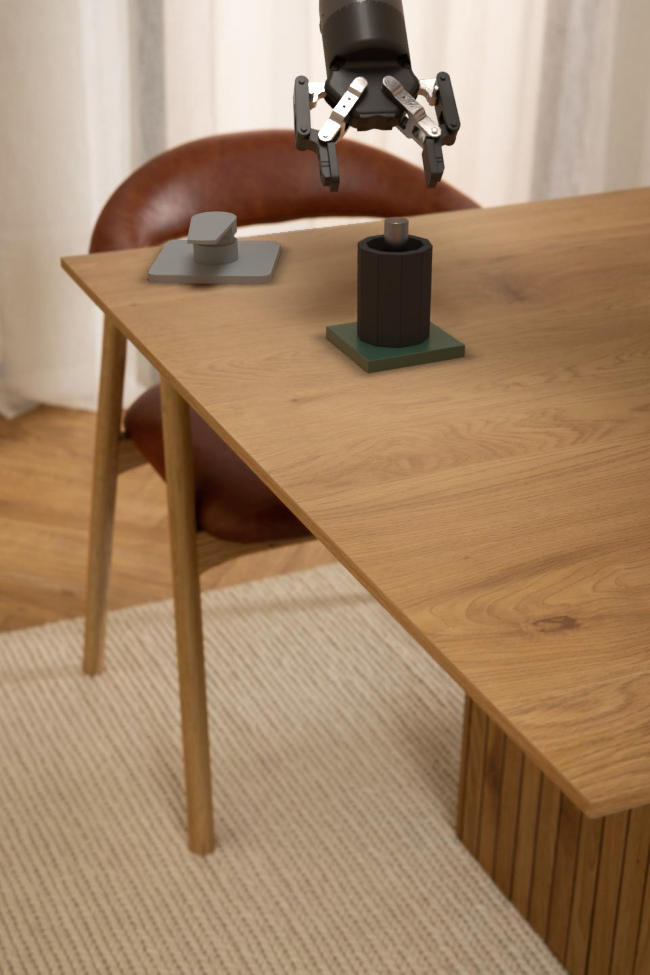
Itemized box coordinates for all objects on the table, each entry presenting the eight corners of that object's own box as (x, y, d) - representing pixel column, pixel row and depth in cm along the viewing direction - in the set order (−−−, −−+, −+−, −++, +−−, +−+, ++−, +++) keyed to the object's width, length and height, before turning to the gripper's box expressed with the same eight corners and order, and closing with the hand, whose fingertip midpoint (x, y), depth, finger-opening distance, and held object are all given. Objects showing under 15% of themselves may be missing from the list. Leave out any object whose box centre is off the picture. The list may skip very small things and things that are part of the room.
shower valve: (137, 237, 114) (165, 198, 127) (141, 292, 116) (169, 248, 129) (265, 238, 113) (280, 199, 126) (267, 293, 115) (282, 249, 129)
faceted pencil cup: (419, 320, 105) (422, 231, 101) (435, 345, 99) (438, 252, 96) (352, 324, 104) (353, 235, 100) (364, 349, 99) (365, 256, 95)
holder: (416, 324, 107) (420, 201, 102) (464, 358, 100) (471, 227, 95) (325, 339, 104) (324, 213, 99) (368, 374, 97) (369, 240, 92)
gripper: (286, -1, 101) (305, 164, 97) (448, -5, 103) (475, 157, 98) (281, 56, 108) (298, 212, 104) (433, 51, 110) (457, 205, 105)
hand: (384, 185), depth 101 cm, fingers open, 8 cm apart
